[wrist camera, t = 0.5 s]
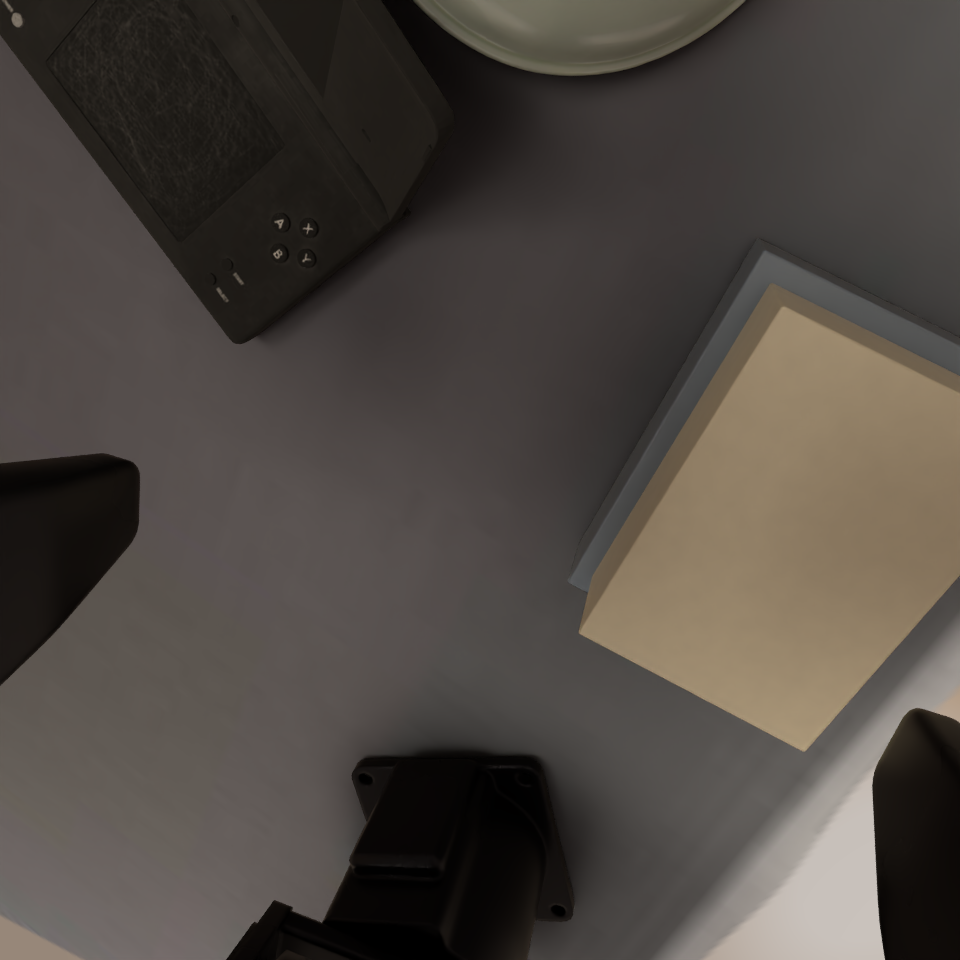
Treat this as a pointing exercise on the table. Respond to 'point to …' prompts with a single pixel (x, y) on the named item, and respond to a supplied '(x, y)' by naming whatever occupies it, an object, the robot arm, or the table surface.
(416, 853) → the robot arm
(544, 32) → the pale green streaked slab
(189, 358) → the table surface
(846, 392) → the cream rectangular block
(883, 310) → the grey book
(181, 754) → the table surface
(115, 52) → the handheld gaming console
